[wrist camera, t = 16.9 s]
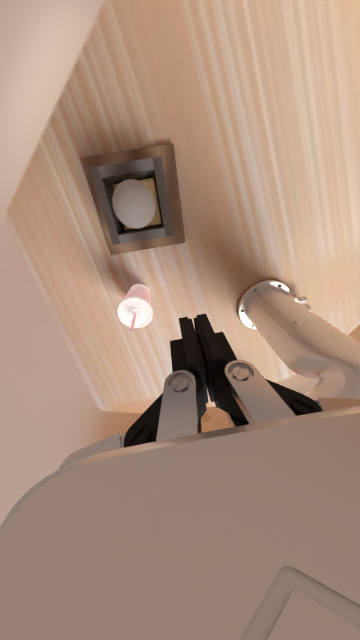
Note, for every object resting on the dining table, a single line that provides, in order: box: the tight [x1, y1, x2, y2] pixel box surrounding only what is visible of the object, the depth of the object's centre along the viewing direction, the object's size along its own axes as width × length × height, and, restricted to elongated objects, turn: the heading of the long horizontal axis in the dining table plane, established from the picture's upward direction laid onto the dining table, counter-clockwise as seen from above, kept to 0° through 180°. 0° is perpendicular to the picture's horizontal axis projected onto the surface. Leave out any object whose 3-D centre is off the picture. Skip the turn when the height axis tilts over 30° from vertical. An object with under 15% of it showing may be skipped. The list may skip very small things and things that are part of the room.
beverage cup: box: [117, 284, 153, 331], centre depth 35 cm, size 6×6×14 cm
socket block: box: [80, 143, 185, 255], centre depth 29 cm, size 14×14×7 cm
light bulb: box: [112, 179, 156, 229], centre depth 27 cm, size 5×6×10 cm
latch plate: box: [113, 178, 161, 230], centre depth 31 cm, size 6×6×1 cm
